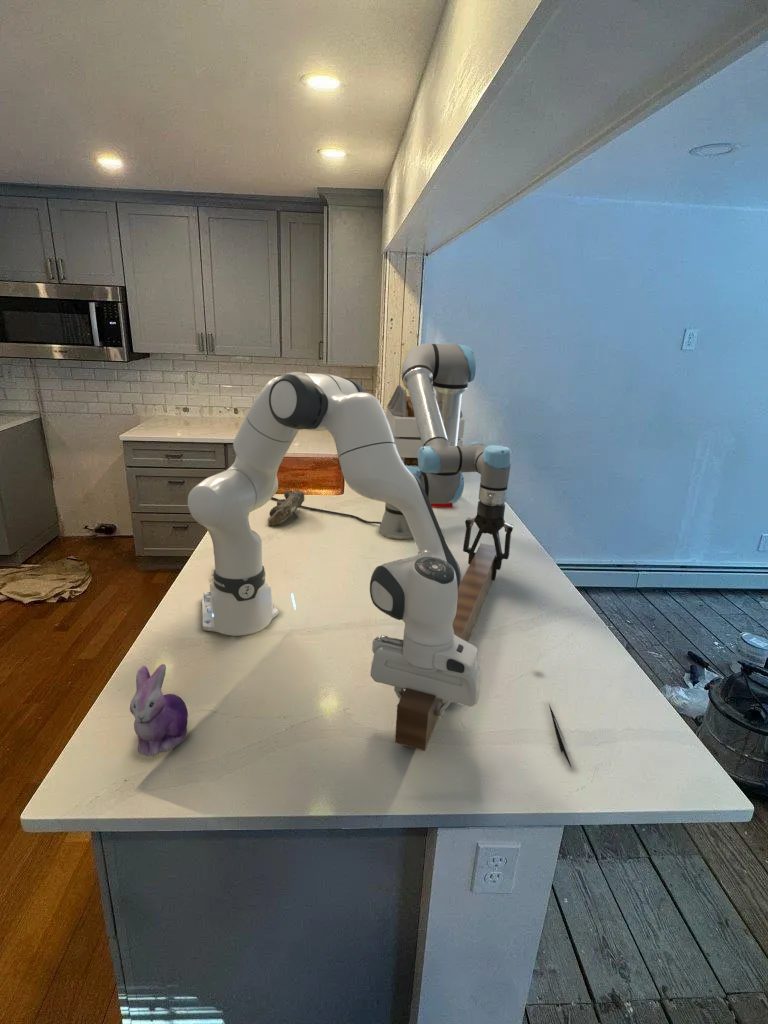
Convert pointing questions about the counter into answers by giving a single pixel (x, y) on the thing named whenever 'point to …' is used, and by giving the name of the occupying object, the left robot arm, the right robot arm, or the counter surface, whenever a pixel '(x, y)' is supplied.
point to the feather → (559, 735)
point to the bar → (419, 706)
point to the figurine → (157, 714)
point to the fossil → (286, 507)
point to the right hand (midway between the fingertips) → (483, 576)
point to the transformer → (408, 427)
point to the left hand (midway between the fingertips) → (421, 709)
